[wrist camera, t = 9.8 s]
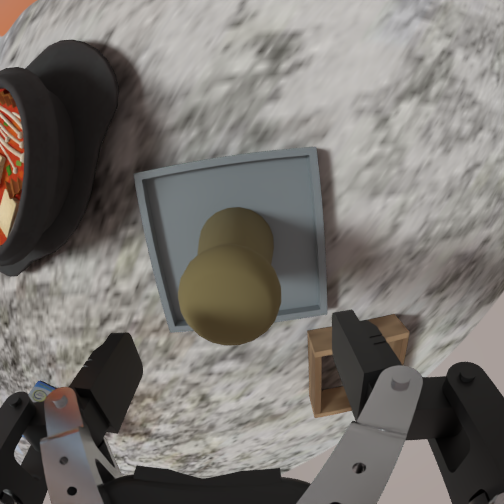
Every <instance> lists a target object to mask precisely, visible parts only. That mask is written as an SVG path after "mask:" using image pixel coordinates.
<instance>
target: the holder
mask: <svg viewBox="0 0 504 504" xmlns="http://www.w3.org/2000/svg"><path fill="white" fill-rule="evenodd" d="M368 321H370V322H371V323H373V324H374V325H376V326H377V327H378V329H379V330H380V332H381V333H382V336H384V338H385V339H386V341H387V342H388V344H389V345H390V347H391V348H392V350H393V351H394V353H395V354H396V356H397V357H398V359H399V360H400V362H401V363H402V365H403V364H404V359H405V354H406V349H407V344H408V338H409V331H408V330H407V328H406V327H405V326H404V325H403V324H402V322H401V321H400V320H399V319H398V318H397V317H396V315H395V314H393V315H388V316H384V317H379V318H374V319H369V320H368ZM307 332H308V359H309V397H310V401H311V405H312V409H313V413H314V417H315V418H318V417H323V416H329V415H334V414H338V413H343V412H347V411H352V409H351V406H350V403H349V400H348V398H347V395H346V392H345V389H344V386H341V387H336V388H331V389H326V390H321V371H322V356H327V355H333V353H332V327H327V328H321V329H315V330H308V331H307Z"/></svg>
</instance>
